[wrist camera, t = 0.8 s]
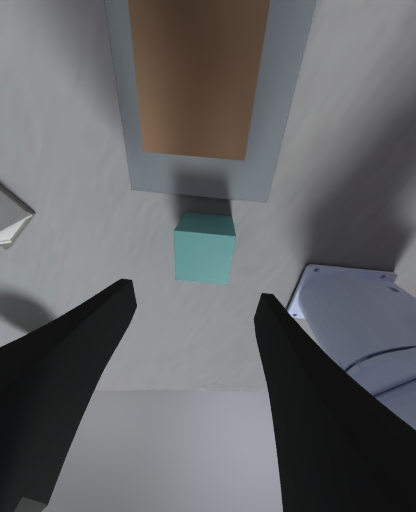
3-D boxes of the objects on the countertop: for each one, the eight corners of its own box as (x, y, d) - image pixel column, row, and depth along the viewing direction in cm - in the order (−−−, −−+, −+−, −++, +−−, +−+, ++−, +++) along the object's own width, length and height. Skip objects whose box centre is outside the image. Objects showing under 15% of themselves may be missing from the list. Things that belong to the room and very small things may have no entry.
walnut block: (254, 47, 10) (271, -9, 7) (238, 160, 13) (244, 160, 10) (157, 40, 10) (125, -19, 7) (162, 153, 13) (143, 151, 10)
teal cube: (231, 216, 16) (235, 236, 12) (225, 256, 19) (227, 285, 14) (186, 211, 17) (173, 230, 12) (185, 252, 19) (175, 279, 14)
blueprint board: (317, -20, 9) (324, -34, 9) (264, 200, 15) (266, 202, 15) (106, -34, 10) (97, -50, 9) (135, 188, 16) (131, 190, 15)
